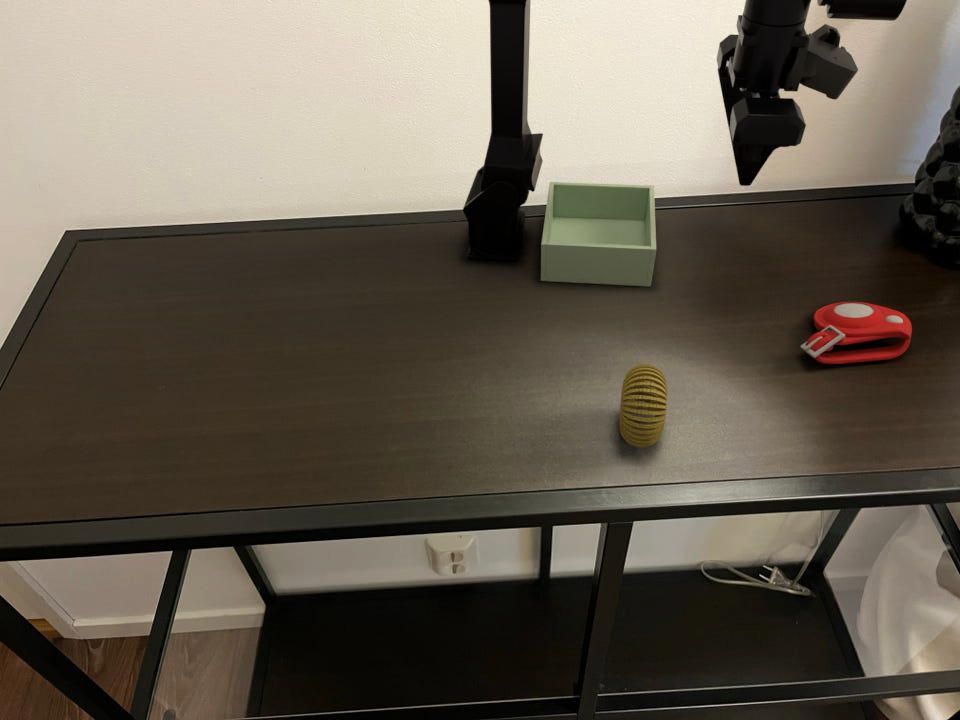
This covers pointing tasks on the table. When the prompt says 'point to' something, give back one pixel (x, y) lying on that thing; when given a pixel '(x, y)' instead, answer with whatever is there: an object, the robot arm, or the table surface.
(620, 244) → the bin
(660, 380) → the sculpture
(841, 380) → the table surface
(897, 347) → the tracker holder
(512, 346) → the table surface
